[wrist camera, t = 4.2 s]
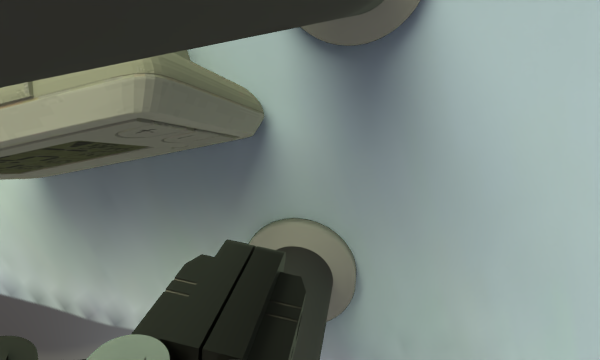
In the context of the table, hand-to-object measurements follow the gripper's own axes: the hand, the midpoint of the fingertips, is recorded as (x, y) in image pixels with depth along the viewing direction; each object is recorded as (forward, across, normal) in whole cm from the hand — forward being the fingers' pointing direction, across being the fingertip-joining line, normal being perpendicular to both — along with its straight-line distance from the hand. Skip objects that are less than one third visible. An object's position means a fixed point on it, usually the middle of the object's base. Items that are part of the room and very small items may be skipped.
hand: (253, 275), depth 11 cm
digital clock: (+14, +11, 0) cm, 17 cm away
